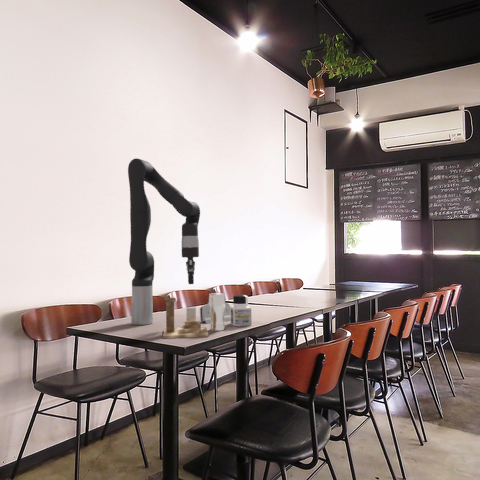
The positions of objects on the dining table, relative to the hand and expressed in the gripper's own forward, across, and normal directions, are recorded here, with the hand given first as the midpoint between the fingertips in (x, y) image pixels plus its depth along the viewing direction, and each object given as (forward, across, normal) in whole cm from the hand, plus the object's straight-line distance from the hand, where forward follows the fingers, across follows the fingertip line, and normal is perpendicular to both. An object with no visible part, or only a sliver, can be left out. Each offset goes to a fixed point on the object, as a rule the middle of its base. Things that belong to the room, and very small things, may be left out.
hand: (190, 283), depth 182 cm
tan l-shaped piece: (+19, +16, -2) cm, 25 cm away
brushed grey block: (+19, 0, 0) cm, 19 cm away
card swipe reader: (+19, -12, +12) cm, 26 cm away
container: (+19, 0, +22) cm, 29 cm away
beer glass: (+19, +11, +10) cm, 24 cm away
